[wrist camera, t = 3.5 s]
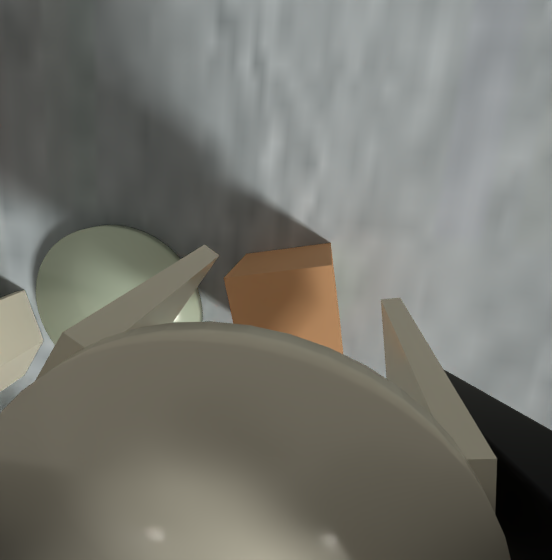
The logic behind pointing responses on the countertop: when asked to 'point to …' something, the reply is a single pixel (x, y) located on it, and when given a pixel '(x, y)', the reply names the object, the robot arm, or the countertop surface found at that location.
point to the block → (288, 293)
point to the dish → (100, 274)
